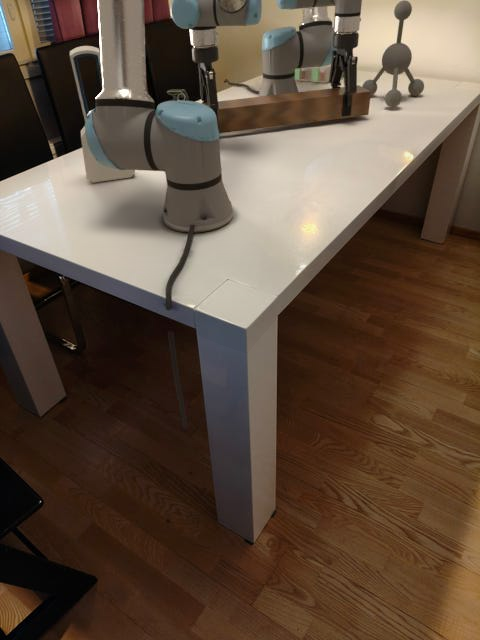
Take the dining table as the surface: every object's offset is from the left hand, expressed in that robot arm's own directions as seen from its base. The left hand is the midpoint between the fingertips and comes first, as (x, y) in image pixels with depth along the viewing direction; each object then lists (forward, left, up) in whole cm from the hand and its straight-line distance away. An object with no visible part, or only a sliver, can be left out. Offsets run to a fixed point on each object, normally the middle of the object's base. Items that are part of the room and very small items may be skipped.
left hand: (211, 127), depth 152 cm
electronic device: (-39, +8, -2) cm, 40 cm away
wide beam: (+14, -16, -1) cm, 22 cm away
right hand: (+29, -32, 0) cm, 43 cm away
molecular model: (+58, -43, -2) cm, 72 cm away
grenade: (+8, +17, -2) cm, 19 cm away
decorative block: (+84, -4, -2) cm, 84 cm away
